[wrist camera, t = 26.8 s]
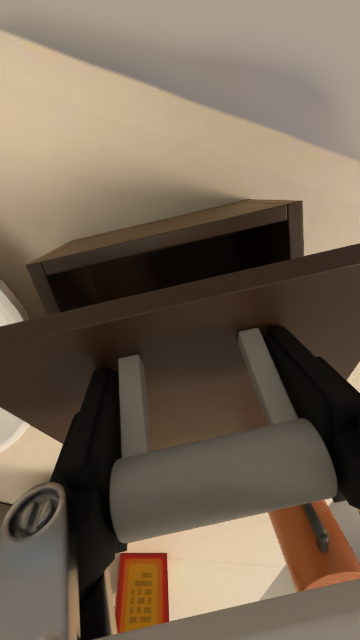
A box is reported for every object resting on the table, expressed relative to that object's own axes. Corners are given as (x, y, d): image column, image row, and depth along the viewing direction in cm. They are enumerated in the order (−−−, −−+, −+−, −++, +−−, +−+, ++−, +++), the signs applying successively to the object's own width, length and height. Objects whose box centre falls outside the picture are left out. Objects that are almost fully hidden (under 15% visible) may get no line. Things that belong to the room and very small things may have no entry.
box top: (-66, 340, 8) (-193, 605, 5) (420, 228, 8) (659, 416, 5) (110, 459, 20) (112, 560, 17) (309, 415, 20) (353, 507, 17)
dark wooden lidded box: (71, 240, 23) (24, 265, 15) (249, 199, 22) (302, 200, 14) (124, 386, 28) (111, 460, 20) (265, 354, 28) (309, 416, 20)
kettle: (254, 456, 33) (297, 568, 23) (307, 444, 33) (374, 552, 23) (262, 514, 38) (301, 629, 28) (309, 503, 38) (366, 615, 28)
